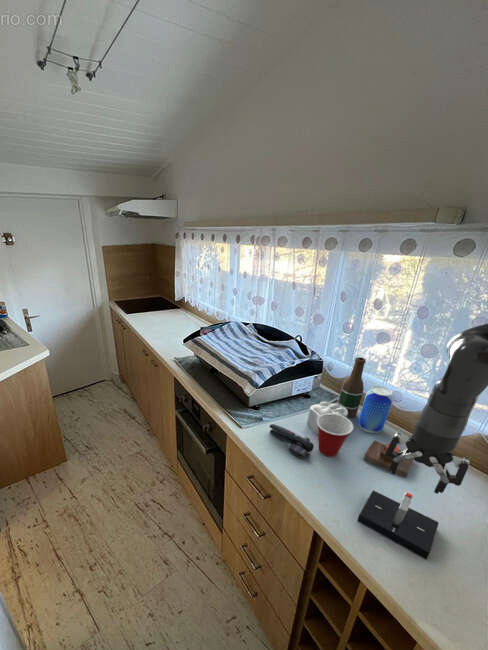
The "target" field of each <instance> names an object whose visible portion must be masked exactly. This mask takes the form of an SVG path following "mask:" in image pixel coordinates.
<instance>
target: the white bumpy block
mask: <svg viewBox="0 0 488 650" xmlns="http://www.w3.org/2000/svg"><path fill="white" fill-rule="evenodd" d="M328 413H331V414H338V415H341V416H344V417H345V418H347V415H348V411H347V409H346V408H344V407H342V406H340V405H338V403H331V402H327V401H320V403H317V404H313V405H311V406H310V407H309V411H308V416H307V420H306V425H307V426H308V427H309V428H310V429H311V430H312V431H313V432H314V433H315V434H316V435H318V432H319V429H318V425H317V418H318V417H319V416H320V415H322V414H328ZM347 419H348V418H347Z"/></svg>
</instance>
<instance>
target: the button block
mask: <svg viewBox="0 0 488 650" xmlns="http://www.w3.org/2000/svg"><path fill="white" fill-rule="evenodd" d="M386 446H387V443H386V444H385V443H384V442H380V441H378V440H373V441H372V443H371V444H370V446H369V447H368V448H367V451H366V452H365V454H364V455H363V459H362V460H364V461H366V462H368V463H370V464H372V465H375V466H377V467H379V468H382V469H384V470H386V471H389V472H391V473H392V471H390V466H391V463H392V458H390V457H387V456H386V455H385V453H386V451H385V448H386ZM402 451H403V450H402V449H400V450H399V452H402ZM414 462H415V461H414V459H413V458H412V459H409V460H406V461H405V460H404V461H401V462H400V464H399V466H398V469H397V471H396V473H395V475H397V476H400V477H402V478H405V479H406V478H407V476H408V475H409V472H410V469H411V468H412V466H413V463H414Z"/></svg>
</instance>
